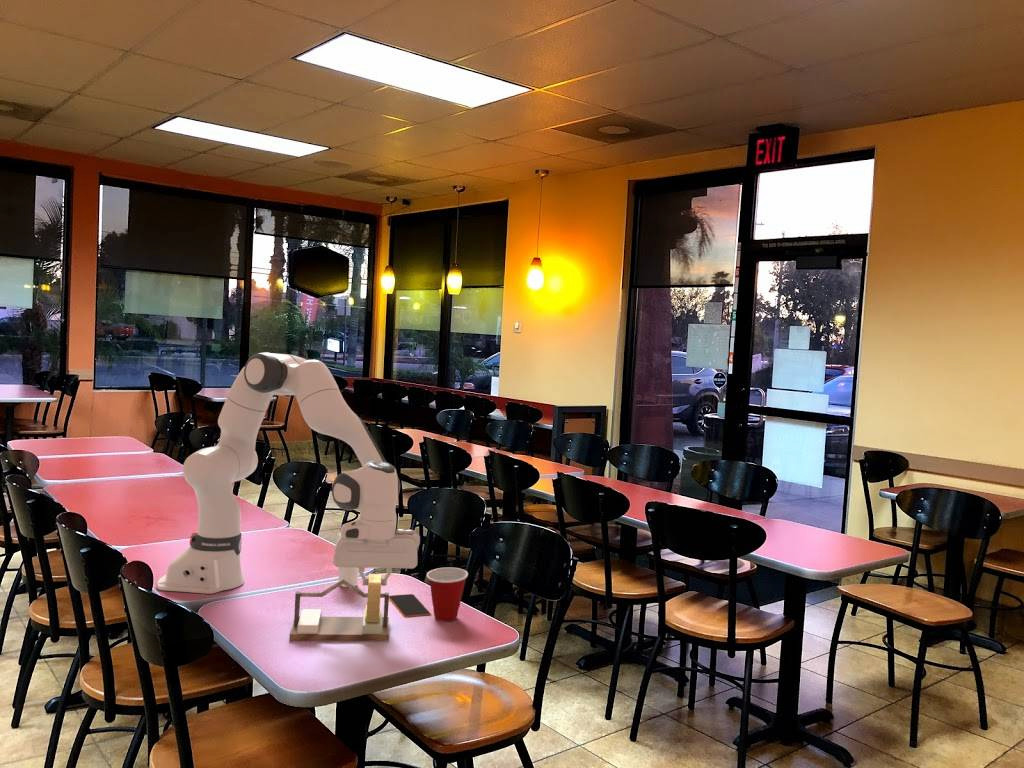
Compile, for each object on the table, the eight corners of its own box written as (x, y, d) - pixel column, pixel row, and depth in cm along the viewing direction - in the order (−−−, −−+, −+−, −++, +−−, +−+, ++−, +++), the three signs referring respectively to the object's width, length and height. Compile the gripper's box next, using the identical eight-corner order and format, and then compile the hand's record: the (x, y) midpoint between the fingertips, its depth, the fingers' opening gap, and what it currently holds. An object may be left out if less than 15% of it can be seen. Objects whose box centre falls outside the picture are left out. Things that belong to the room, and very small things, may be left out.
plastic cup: (416, 614, 213) (418, 569, 212) (451, 608, 220) (453, 564, 219) (437, 628, 204) (440, 581, 204) (473, 621, 211) (476, 575, 210)
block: (297, 633, 191) (297, 625, 191) (302, 617, 202) (302, 609, 202) (317, 633, 192) (317, 625, 192) (321, 617, 203) (321, 609, 203)
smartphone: (404, 619, 210) (404, 615, 210) (387, 598, 226) (387, 595, 226) (432, 616, 213) (432, 613, 213) (413, 596, 229) (413, 593, 229)
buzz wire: (289, 640, 190) (291, 586, 190) (295, 622, 202) (297, 570, 202) (388, 640, 194) (391, 587, 193) (388, 622, 206) (391, 572, 205)
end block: (362, 633, 193) (362, 625, 193) (363, 617, 204) (363, 609, 204) (381, 633, 194) (382, 625, 194) (382, 617, 205) (382, 609, 205)
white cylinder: (333, 582, 235) (335, 531, 234) (356, 580, 238) (359, 530, 237) (338, 589, 229) (341, 537, 228) (362, 588, 232) (365, 536, 231)
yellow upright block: (365, 622, 194) (367, 585, 194) (365, 609, 203) (368, 573, 203) (379, 622, 195) (382, 585, 194) (380, 609, 204) (382, 574, 203)
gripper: (419, 527, 203) (416, 581, 203) (336, 524, 199) (333, 580, 200) (421, 533, 196) (417, 589, 197) (334, 531, 193) (331, 588, 194)
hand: (374, 584), depth 199 cm, fingers closed on yellow upright block, 3 cm apart
